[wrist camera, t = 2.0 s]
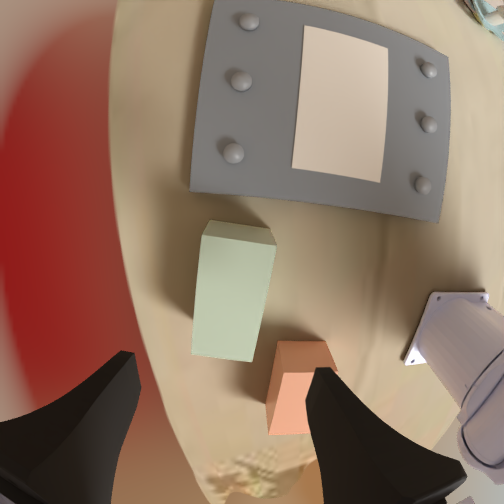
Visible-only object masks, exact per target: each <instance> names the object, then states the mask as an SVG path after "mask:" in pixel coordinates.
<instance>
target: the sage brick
mask: <svg viewBox="0 0 504 504" xmlns="http://www.w3.org/2000/svg"><path fill="white" fill-rule="evenodd" d="M276 249H277V245H276V242H275V239H274V237H273V234H272V232H271V229H268V228H262V227H255V226H249V225H242V224H236V223H229V222H222V221H216V220H210V221H209V222H208V224H207V226H206V228H205V230H204V232H203V233H202V237H201V246H200V255H199V264H198V274H197V284H196V295H195V306H194V318H193V332H192V347H191V354H193V355H200V356H206V357H213V358H221V359H228V360H236V361H245V362H252V360H253V356H254V352H255V347H256V343H257V338H258V334H259V329H260V325H261V320H262V316H263V311H264V307H265V302H266V297H267V293H268V288H269V283H270V278H271V274H272V269H273V264H274V259H275V254H276Z"/></svg>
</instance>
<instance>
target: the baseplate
mask: <svg viewBox="0 0 504 504" xmlns="http://www.w3.org/2000/svg"><path fill="white" fill-rule="evenodd" d="M450 116H451V97H450V73H449V60H448V57H447V56H445V55H444V54H442V53H440V52H438V51H436V50H434V49H432V48H430V47H428V46H426V45H424V44H422V43H420V42H418V41H416V40H414V39H412V38H409V37H407V36H405V35H403V34H400V33H398V32H395V31H393V30H390V29H388V28H385V27H383V26H380V25H377V24H374V23H372V22H369V21H366V20H363V19H359V18H356V17H353V16H350V15H346V14H343V13H339V12H335V11H331V10H327V9H323V8H319V7H314V6H309V5H304V4H299V3H293V2H286V1H279V0H214V4H213V9H212V14H211V19H210V25H209V30H208V36H207V41H206V47H205V53H204V60H203V66H202V73H201V80H200V87H199V95H198V103H197V111H196V120H195V130H194V140H193V151H192V162H191V175H190V190H189V192H201V193H215V194H228V195H240V196H251V197H262V198H272V199H281V200H290V201H299V202H307V203H315V204H323V205H330V206H338V207H345V208H352V209H358V210H365V211H371V212H378V213H384V214H390V215H395V216H401V217H407V218H412V219H417V220H423V221H428V222H433V223H439V218H440V212H441V207H442V201H443V195H444V188H445V181H446V173H447V164H448V154H449V140H450Z"/></svg>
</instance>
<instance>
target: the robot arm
mask: <svg viewBox="0 0 504 504" xmlns="http://www.w3.org/2000/svg"><path fill="white" fill-rule="evenodd" d="M488 298H489V294H488V293H487V292H433V293H432V294H431V295H430V297H429V299H428V302H427V305H426V308H425V311H424V313H423V316H422V319H421V321H420V324H419V326H418V329H417V331H416V334H415V336H414V338H413V341H412V343H411V345H410V348H409V350H408V352H407V354H406V357H405V359H404V361H403V362H404V364H405V365H414V364H420V363H427V364H428V365H429V366H430V368H431V369H432V370H433V372H434V373H435V374H436V376H437V377H438V378H439V380H440V381H441V382H442V384H443V385H444V386H445V388H446V389H447V390H448V392H449V393H450V395H451V396H452V397H453V399H454V400H455V402H456V403H457V405H458V406H459V407H460V409H461V411H460V412H459V414H458V415H457V419H458V420H459V421H460V423H461V425H460V427H459V428H458V431H457V442H458V448H459V451H460V453H461V455H462V457H463V458H464V460H465V461H466V462H467V463H468V464H469V465H470V466H471V467H473V468H474V469H477V470H479V471H481V472H483V473H484V474H486V475H487V476H488V477H489V478H490V479H491V480H492V481H493V482H494V483H495V484H496V485H501V484H504V316H503V315H502V314H501V313H499V312H498V311H497V310H496V309H494V308H493V307H492V306H490V305H489V304H488V303H487V301H488ZM140 391H141V384H140V379H139V374H138V369H137V364H136V359H135V354H134V353H132V352H126V351H120V352H119V353H117V354H116V355H115V356H113V357H112V358H111V359H110V360H109V361H108V362H106V363H105V364H104V365H103V366H102V367H101V368H100V369H98V370H97V371H96V372H95V373H93V374H92V375H91V376H90V377H88V378H87V379H86V380H85V381H83V382H82V383H81V384H79V385H78V386H77V387H75V388H74V389H73V390H71V391H70V392H68V393H67V394H65V395H64V396H62V397H61V398H59V399H57V400H55V401H54V402H52V403H50V404H48V405H46V406H44V407H42V408H40V409H38V410H35V411H33V412H31V413H29V414H26V415H23V416H21V417H18V418H15V419H11V420H8V421H4V422H0V504H111V496H112V489H113V482H114V476H115V471H116V466H117V461H118V457H119V454H120V450H121V447H122V444H123V442H124V439H125V437H126V434H127V431H128V429H129V426H130V423H131V421H132V418H133V416H134V413H135V410H136V407H137V404H138V400H139V395H140ZM305 404H306V413H307V420H308V425H309V429H310V432H311V436H312V440H313V444H314V447H315V451H316V455H317V459H318V462H319V467H320V472H321V479H322V487H323V497H324V504H447V502H446V500H445V497H446V496H447V495H449V494H450V493H451V492H453V491H454V490H455V489H457V488H458V487H459V486H460V485H461V484H463V483H464V481H465V480H466V478H467V474H466V473H465V471H464V469H463V467H462V465H461V463H460V461H458V460H455V459H452V458H449V457H446V456H443V455H440V454H437V453H435V452H433V451H431V450H428V449H426V448H424V447H422V446H420V445H418V444H416V443H414V442H413V441H411V440H409V439H408V438H406V437H404V436H403V435H401V434H400V433H398V432H397V431H395V430H394V429H393V428H391V427H390V426H389V425H387V424H386V423H385V422H383V421H382V420H381V419H380V418H379V417H377V416H376V415H375V414H374V413H373V412H372V411H371V410H370V409H369V408H368V407H367V406H366V405H365V404H363V403H362V402H361V400H360V399H359V398H358V397H357V396H356V395H355V394H354V393H353V392H352V391H351V390H350V389H349V388H348V387H347V385H346V384H345V383H344V382H343V381H342V380H341V379H340V378H339V376H338V375H337V374H336V373H335V372H334V371H333V370H332V368H331V367H316V369H315V372H314V375H313V378H312V381H311V384H310V387H309V390H308V393H307V396H306V399H305ZM457 504H475V503H474V501H473V499H472V497H471V496H469V497H467V498H466V499H464V500H462V501H460V502H459V503H457Z"/></svg>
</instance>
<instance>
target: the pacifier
mask: <svg viewBox="0 0 504 504" xmlns="http://www.w3.org/2000/svg"><path fill="white" fill-rule="evenodd" d="M464 1H465V2H466V4H467V5H468V7H469V8H470V9H471V10H472V11H473V14H474V16H475V18H476V19H477V20H478V21H479V23H480V24H481V25H482V26H484V27H485V28H486V29H487V30H490V31H492V32H493V33H494V34H495V35H496V36H497V37H498V38H500V39H501V40H503V41H504V35H503V34H502V32H501V31H503V32H504V6H498V7H497V8H496V9H497V10H496V9H495V8H494V7H492V6H491V5H490V4H488V3H487V2H485V1H484V0H472V2H473V4H472V3H471V1H470V0H464Z"/></svg>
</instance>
